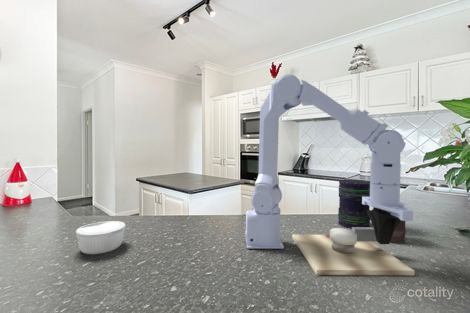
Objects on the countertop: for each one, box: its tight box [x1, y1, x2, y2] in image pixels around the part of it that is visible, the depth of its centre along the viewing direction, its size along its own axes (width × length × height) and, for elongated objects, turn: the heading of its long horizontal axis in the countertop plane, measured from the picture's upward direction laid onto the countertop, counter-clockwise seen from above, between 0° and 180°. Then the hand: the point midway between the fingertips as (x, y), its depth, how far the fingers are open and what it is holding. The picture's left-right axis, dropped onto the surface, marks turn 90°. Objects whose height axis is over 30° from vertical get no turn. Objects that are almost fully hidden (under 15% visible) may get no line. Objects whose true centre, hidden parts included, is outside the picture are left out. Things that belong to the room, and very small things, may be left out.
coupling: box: [329, 226, 378, 245], centre depth 57 cm, size 12×6×3 cm, turn 90°
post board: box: [291, 233, 416, 276], centre depth 58 cm, size 20×20×3 cm
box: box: [390, 220, 406, 244], centre depth 68 cm, size 6×6×7 cm
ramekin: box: [75, 220, 126, 255], centre depth 60 cm, size 11×11×5 cm
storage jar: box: [337, 179, 371, 230], centre depth 79 cm, size 10×10×15 cm
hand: (383, 243), depth 53 cm, fingers closed
